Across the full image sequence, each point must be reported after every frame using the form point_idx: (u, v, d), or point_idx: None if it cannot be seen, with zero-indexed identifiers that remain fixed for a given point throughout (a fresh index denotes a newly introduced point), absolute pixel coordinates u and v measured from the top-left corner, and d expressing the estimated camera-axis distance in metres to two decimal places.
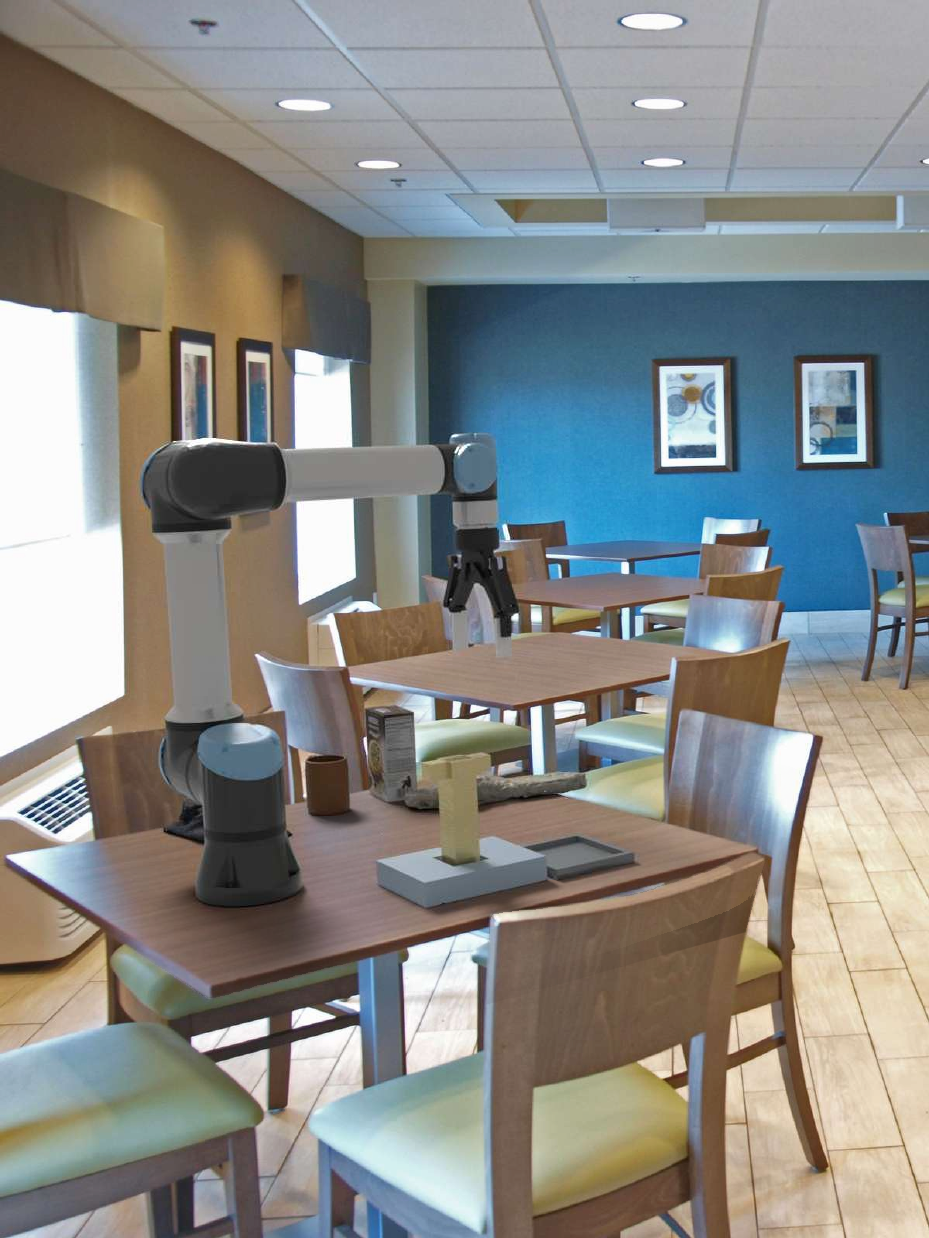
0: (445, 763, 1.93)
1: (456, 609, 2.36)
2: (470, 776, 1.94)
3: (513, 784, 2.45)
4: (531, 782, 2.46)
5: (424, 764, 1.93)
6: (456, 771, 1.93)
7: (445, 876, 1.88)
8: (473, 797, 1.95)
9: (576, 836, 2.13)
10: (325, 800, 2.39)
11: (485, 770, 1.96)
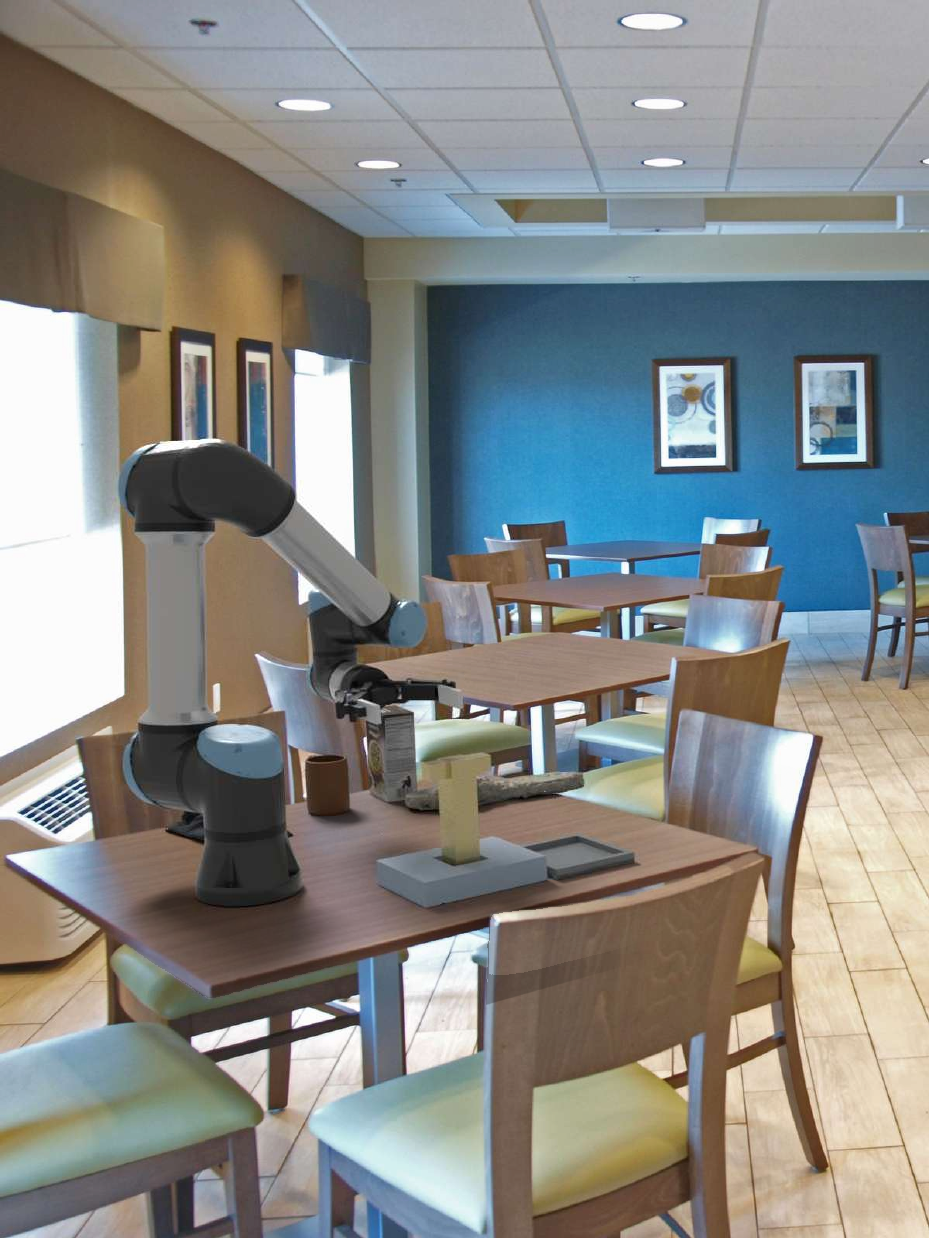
0: (445, 763, 1.93)
1: None
2: (470, 776, 1.94)
3: (513, 784, 2.45)
4: (531, 782, 2.46)
5: (424, 764, 1.93)
6: (456, 771, 1.93)
7: (445, 876, 1.88)
8: (473, 797, 1.95)
9: (576, 836, 2.13)
10: (325, 800, 2.39)
11: (485, 770, 1.96)
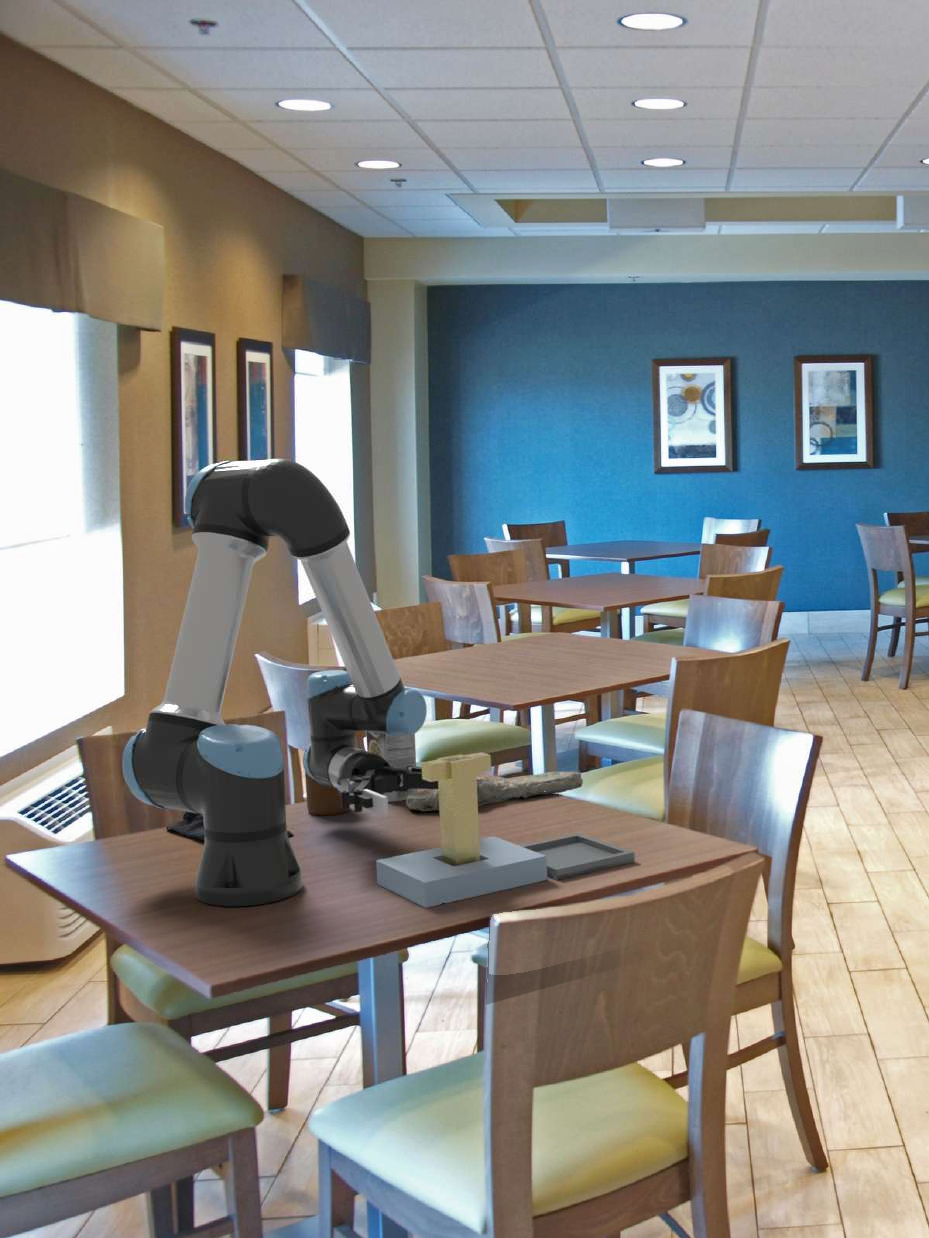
0: (445, 763, 1.93)
1: None
2: (470, 776, 1.94)
3: (513, 784, 2.45)
4: (530, 782, 2.46)
5: (424, 764, 1.93)
6: (456, 771, 1.93)
7: (445, 876, 1.88)
8: (473, 797, 1.95)
9: (576, 836, 2.13)
10: (325, 800, 2.39)
11: (485, 770, 1.96)
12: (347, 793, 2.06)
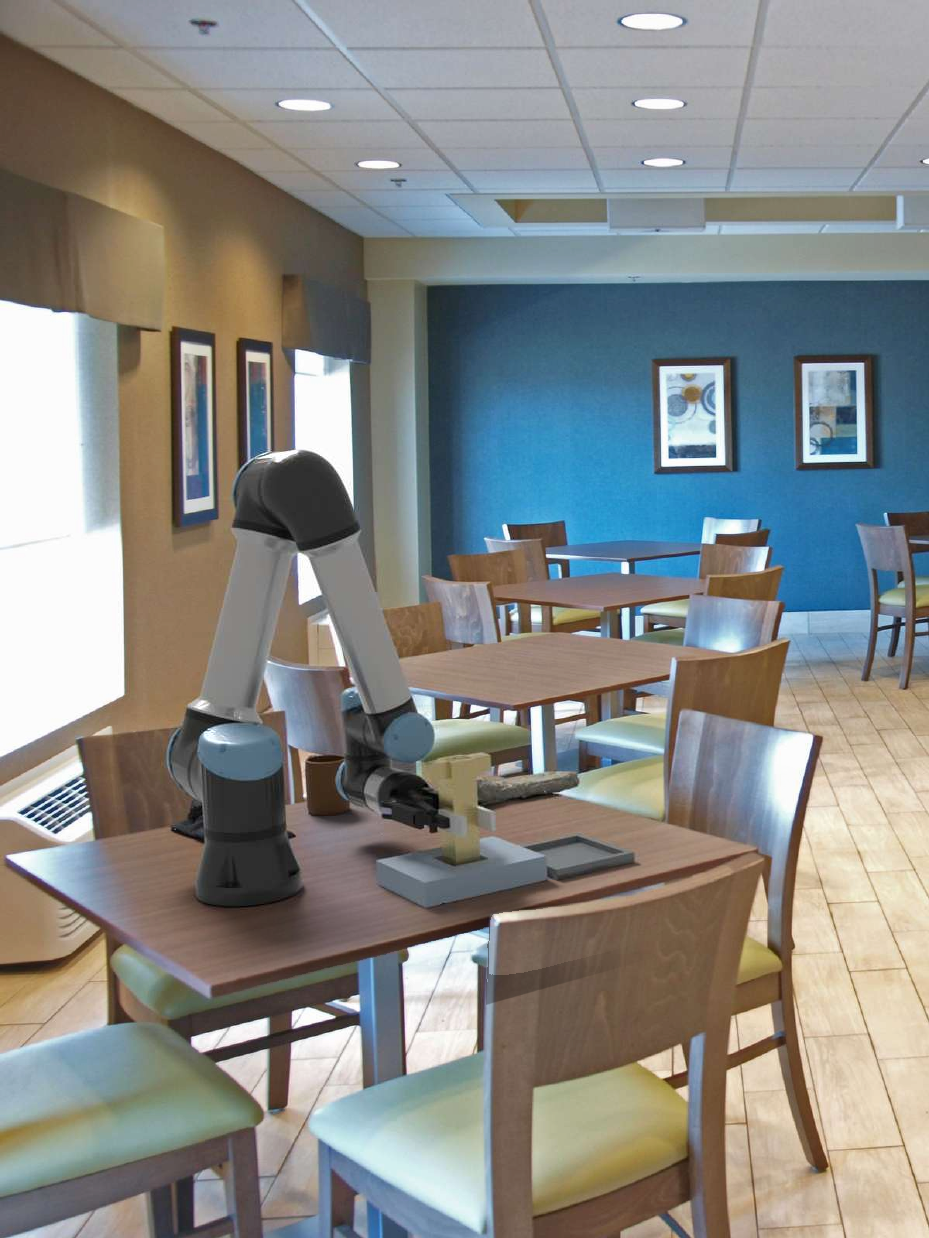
0: (445, 763, 1.93)
1: None
2: (470, 776, 1.94)
3: (512, 785, 2.45)
4: (529, 782, 2.46)
5: (424, 764, 1.93)
6: (456, 771, 1.93)
7: (445, 876, 1.88)
8: (473, 797, 1.95)
9: (576, 836, 2.13)
10: (325, 800, 2.39)
11: (485, 770, 1.96)
12: (423, 812, 1.95)
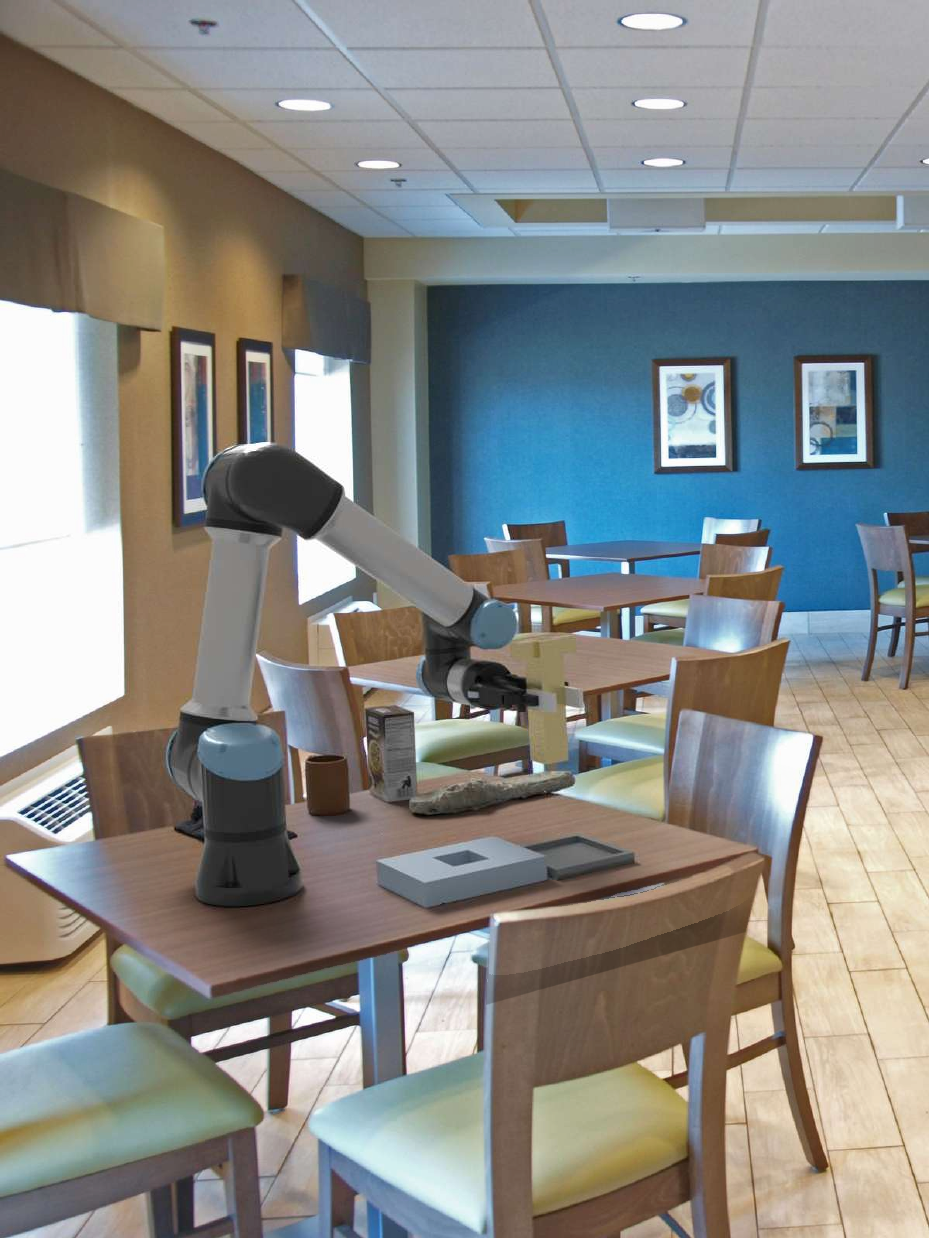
0: (533, 642, 1.98)
1: None
2: (557, 656, 1.99)
3: (512, 785, 2.44)
4: (528, 782, 2.46)
5: (513, 644, 1.98)
6: (544, 650, 1.98)
7: (445, 876, 1.88)
8: (560, 676, 2.00)
9: (576, 836, 2.13)
10: (325, 800, 2.39)
11: (571, 651, 2.02)
12: (511, 692, 2.01)
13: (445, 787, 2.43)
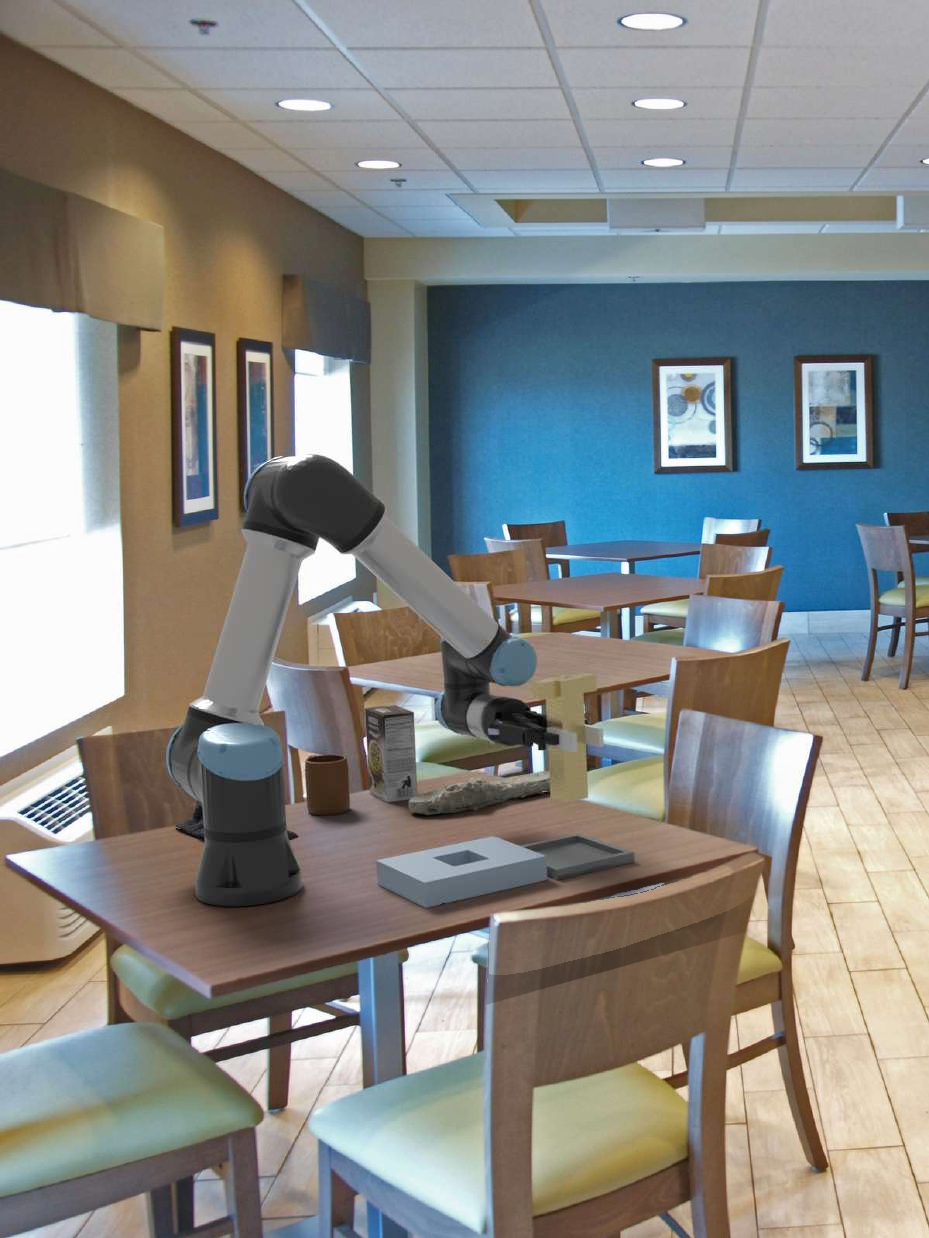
0: (554, 682, 2.00)
1: None
2: (578, 694, 2.02)
3: (511, 785, 2.44)
4: (527, 782, 2.46)
5: (534, 683, 2.00)
6: (565, 689, 2.00)
7: (445, 876, 1.88)
8: (580, 715, 2.02)
9: (576, 836, 2.13)
10: (325, 800, 2.39)
11: (591, 689, 2.04)
12: (532, 730, 2.03)
13: (444, 787, 2.43)
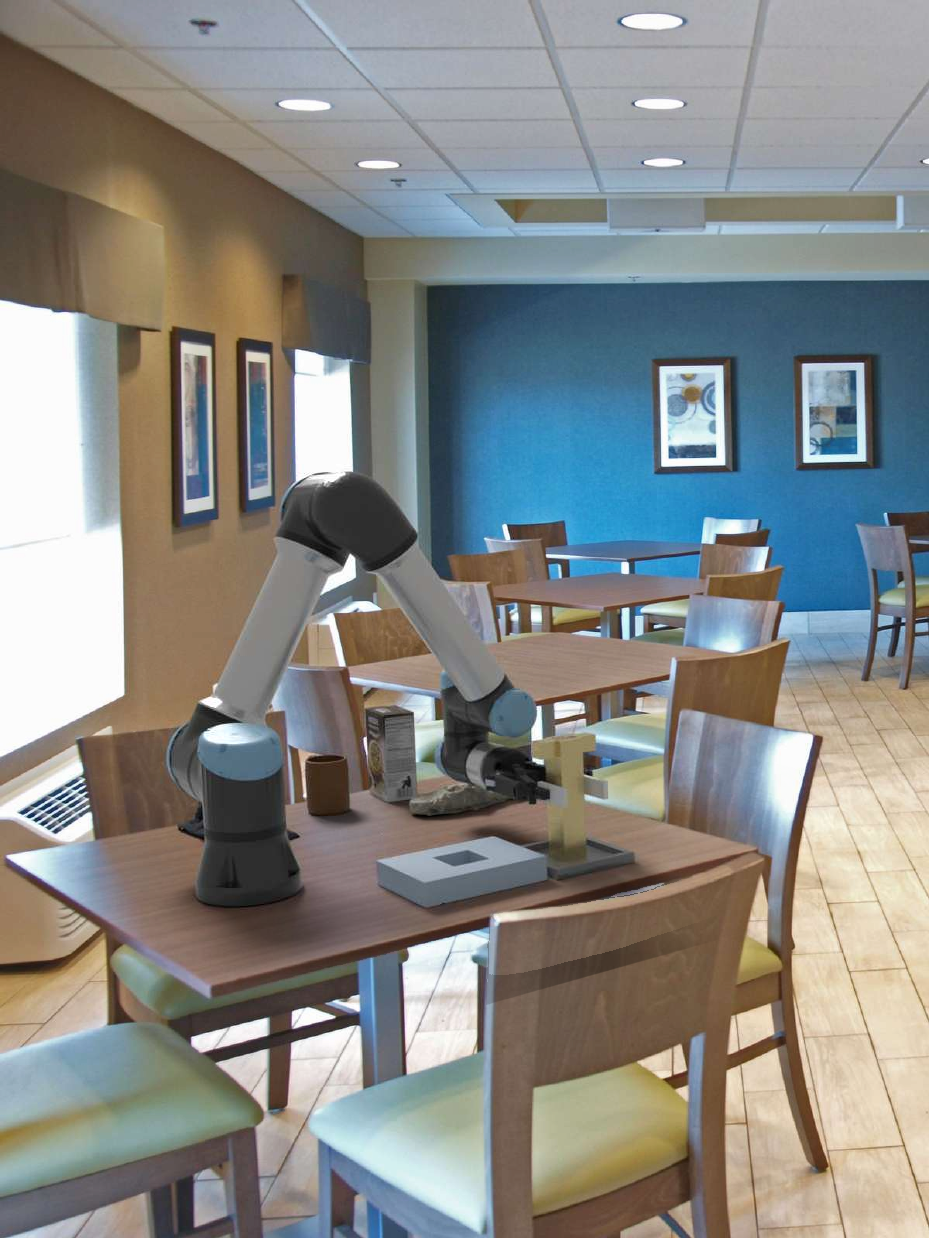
0: (554, 742, 2.01)
1: None
2: (577, 754, 2.02)
3: None
4: None
5: (534, 743, 2.01)
6: (564, 749, 2.01)
7: (445, 876, 1.88)
8: (580, 775, 2.03)
9: None
10: (325, 800, 2.39)
11: (590, 749, 2.05)
12: (522, 785, 2.03)
13: (444, 788, 2.43)
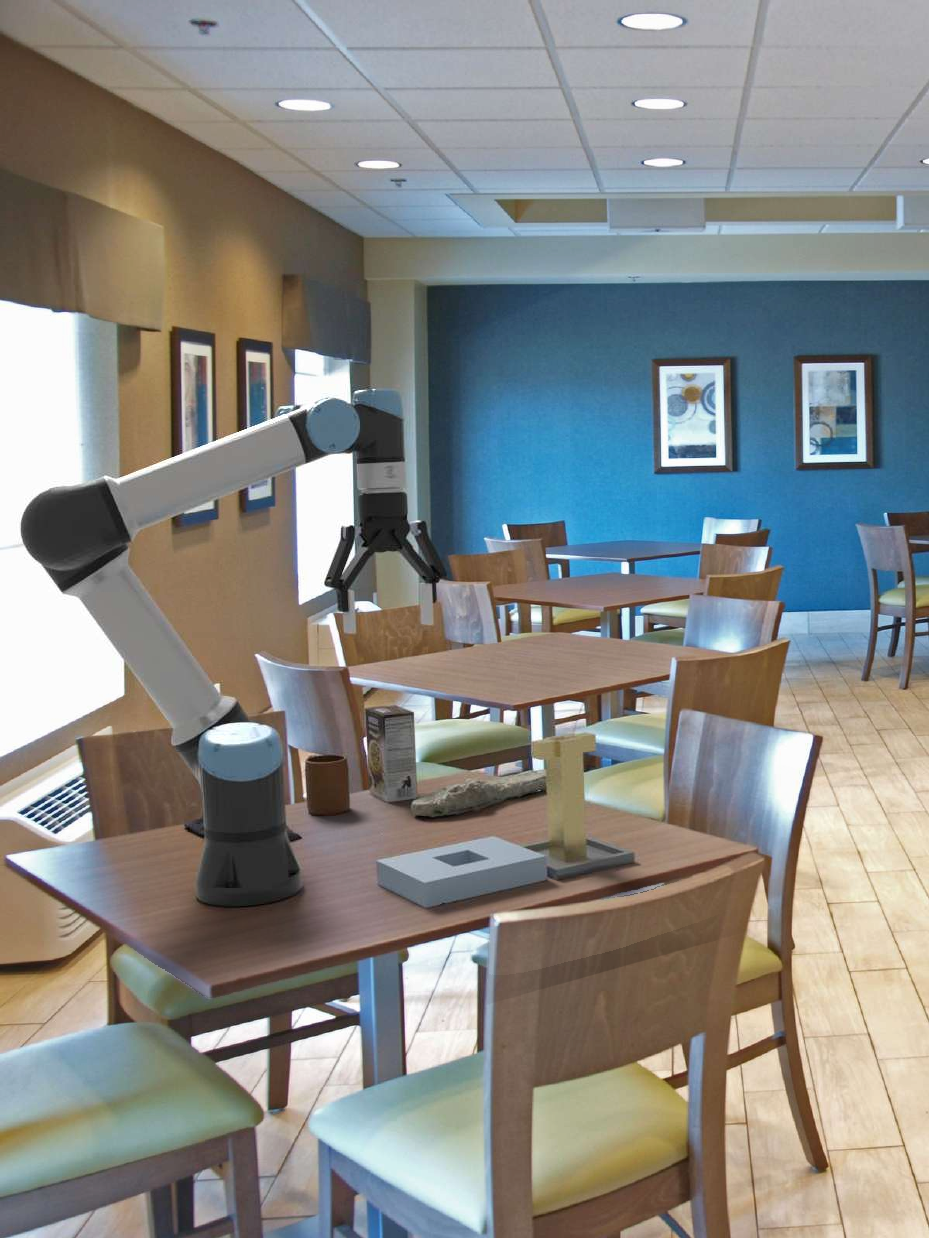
0: (554, 742, 2.01)
1: (426, 580, 2.16)
2: (577, 755, 2.02)
3: (508, 784, 2.45)
4: (522, 781, 2.47)
5: (534, 743, 2.01)
6: (564, 750, 2.01)
7: (445, 876, 1.88)
8: (580, 775, 2.03)
9: None
10: (325, 800, 2.39)
11: (590, 749, 2.05)
12: None
13: (442, 789, 2.42)
